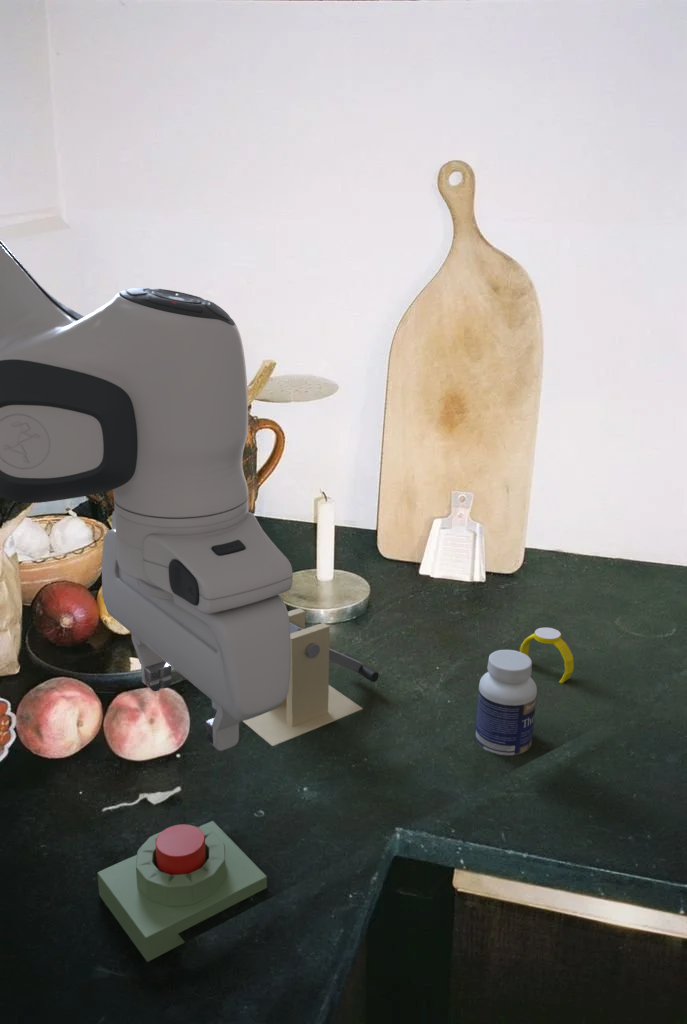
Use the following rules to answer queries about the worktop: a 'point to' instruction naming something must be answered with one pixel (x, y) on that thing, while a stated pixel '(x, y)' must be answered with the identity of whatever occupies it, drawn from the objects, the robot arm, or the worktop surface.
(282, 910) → the worktop surface
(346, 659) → the lever
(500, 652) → the pill bottle
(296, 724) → the tan bracket
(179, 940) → the block
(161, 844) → the button
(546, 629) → the watch
